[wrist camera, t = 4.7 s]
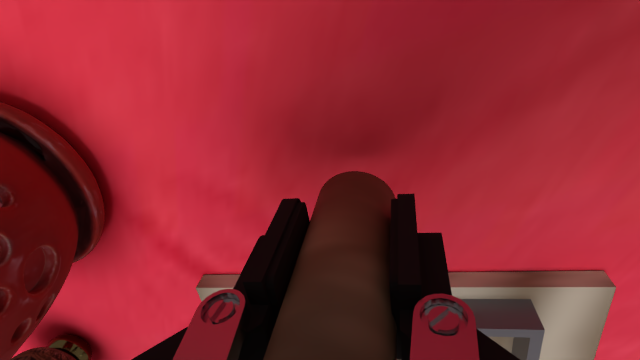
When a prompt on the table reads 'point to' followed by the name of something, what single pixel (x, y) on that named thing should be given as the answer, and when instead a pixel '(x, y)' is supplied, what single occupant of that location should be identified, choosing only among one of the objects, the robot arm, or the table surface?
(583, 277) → the board
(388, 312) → the walnut pin
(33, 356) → the cup
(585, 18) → the table surface
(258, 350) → the robot arm
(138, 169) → the table surface
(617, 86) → the table surface
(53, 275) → the plant pot
